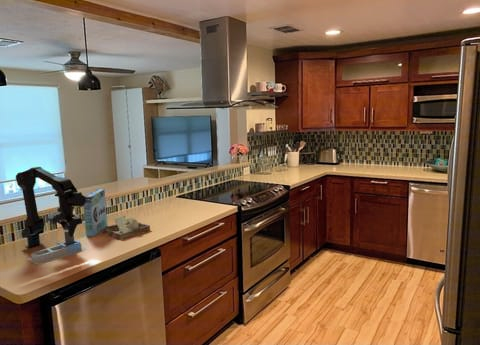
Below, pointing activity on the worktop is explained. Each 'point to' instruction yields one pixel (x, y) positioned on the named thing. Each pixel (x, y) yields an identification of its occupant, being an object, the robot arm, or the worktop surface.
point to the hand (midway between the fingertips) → (69, 235)
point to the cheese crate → (111, 232)
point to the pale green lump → (126, 224)
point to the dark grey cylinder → (68, 237)
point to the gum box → (95, 212)
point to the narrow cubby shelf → (55, 252)
